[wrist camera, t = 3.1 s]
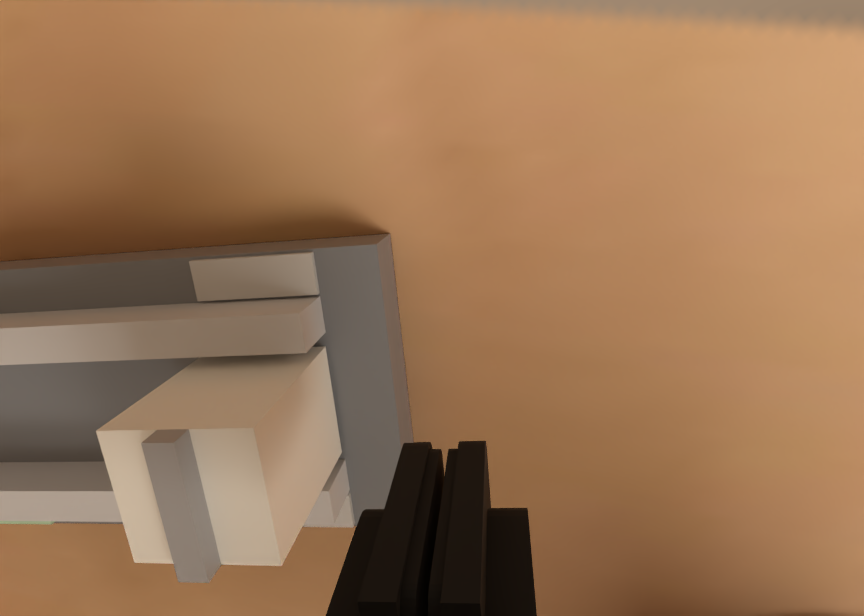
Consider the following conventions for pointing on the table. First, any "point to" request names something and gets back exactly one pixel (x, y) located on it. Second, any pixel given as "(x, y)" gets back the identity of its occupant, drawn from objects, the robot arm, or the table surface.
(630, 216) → the table surface
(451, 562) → the robot arm
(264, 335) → the switch panel
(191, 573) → the switch tab
